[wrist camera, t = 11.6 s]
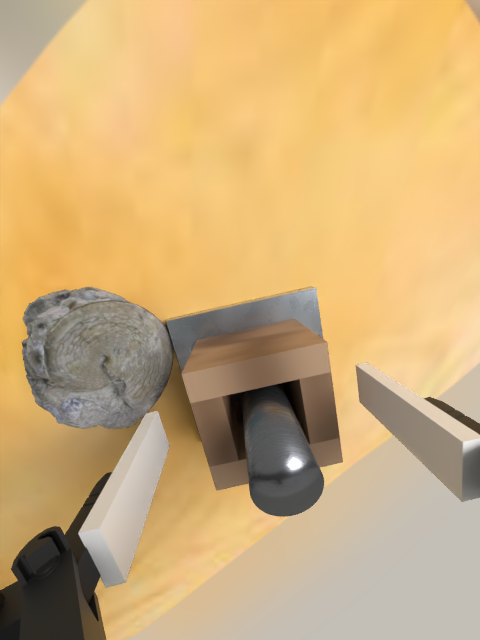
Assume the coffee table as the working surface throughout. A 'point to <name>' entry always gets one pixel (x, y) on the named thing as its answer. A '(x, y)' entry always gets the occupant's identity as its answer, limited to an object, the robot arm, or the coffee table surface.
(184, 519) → the coffee table surface
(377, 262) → the coffee table surface
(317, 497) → the knob on metal plate
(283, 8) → the coffee table surface
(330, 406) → the collar
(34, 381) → the fossilized seashell
